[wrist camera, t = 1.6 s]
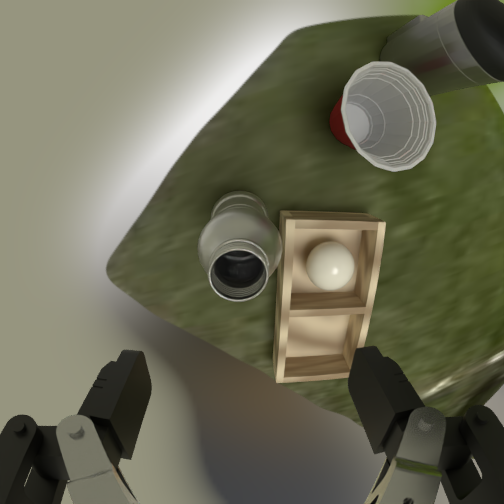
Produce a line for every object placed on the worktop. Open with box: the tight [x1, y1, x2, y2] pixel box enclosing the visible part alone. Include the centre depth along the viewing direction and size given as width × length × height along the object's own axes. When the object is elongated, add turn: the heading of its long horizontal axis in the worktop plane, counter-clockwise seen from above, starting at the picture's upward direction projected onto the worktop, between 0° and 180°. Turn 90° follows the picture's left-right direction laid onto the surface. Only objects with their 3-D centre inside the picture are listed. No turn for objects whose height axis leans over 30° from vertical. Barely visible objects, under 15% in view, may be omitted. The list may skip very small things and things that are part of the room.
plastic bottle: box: [197, 191, 282, 302], centre depth 27 cm, size 6×7×20 cm
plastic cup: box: [329, 62, 436, 172], centre depth 28 cm, size 11×11×12 cm
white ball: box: [306, 241, 355, 291], centre depth 35 cm, size 6×6×6 cm
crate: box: [273, 210, 386, 383], centre depth 38 cm, size 23×12×6 cm, turn 179°
